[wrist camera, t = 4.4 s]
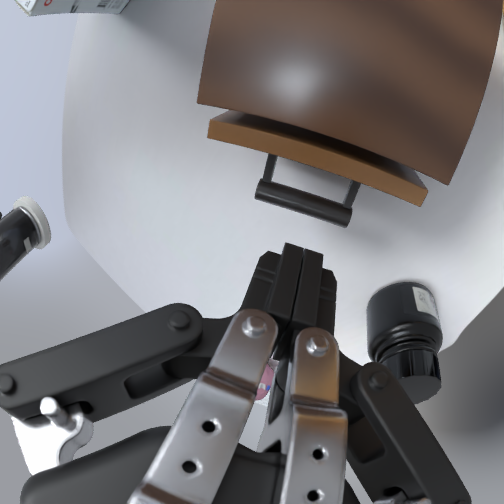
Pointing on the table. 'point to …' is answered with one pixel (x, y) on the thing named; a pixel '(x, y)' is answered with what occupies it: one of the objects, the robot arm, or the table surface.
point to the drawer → (315, 165)
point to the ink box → (71, 6)
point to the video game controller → (265, 383)
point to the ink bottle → (406, 337)
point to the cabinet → (358, 71)
